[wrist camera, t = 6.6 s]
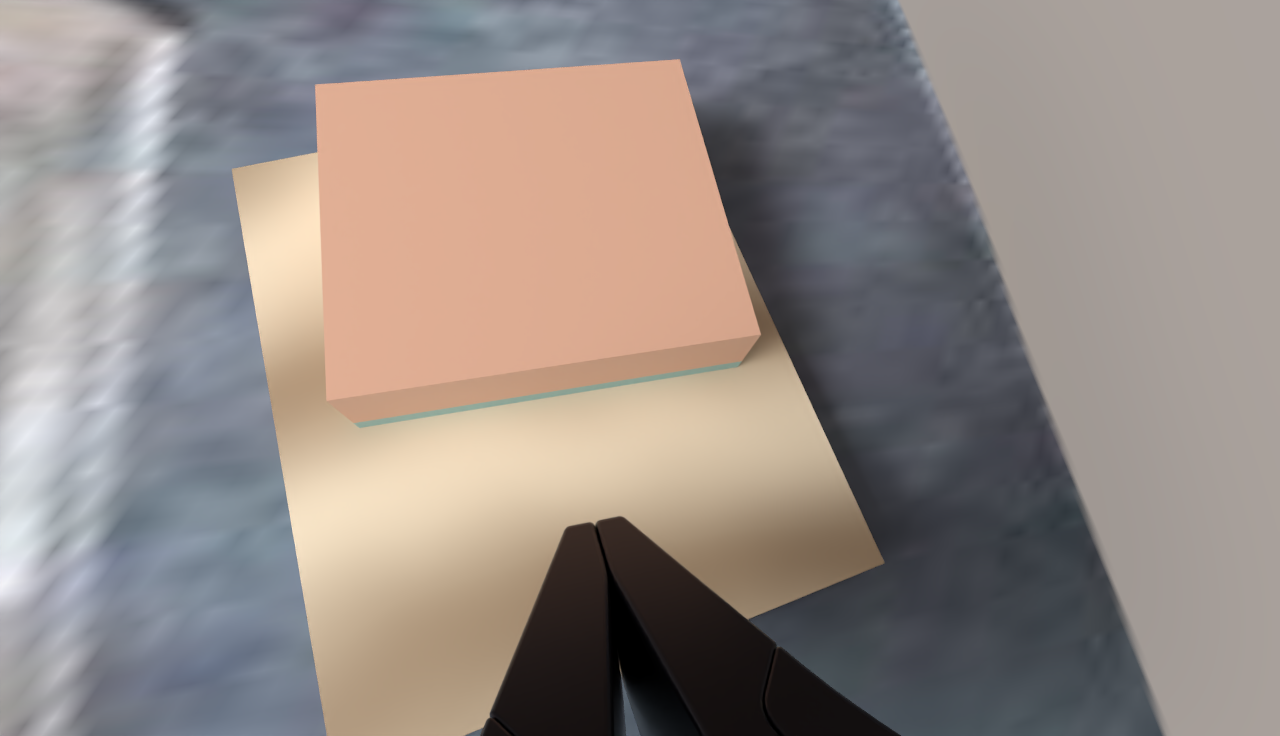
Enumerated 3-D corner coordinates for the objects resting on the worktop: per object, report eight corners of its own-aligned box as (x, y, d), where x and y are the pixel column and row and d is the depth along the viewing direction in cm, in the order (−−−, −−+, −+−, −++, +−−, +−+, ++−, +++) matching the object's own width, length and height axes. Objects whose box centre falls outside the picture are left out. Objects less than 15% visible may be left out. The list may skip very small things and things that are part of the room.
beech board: (861, 566, 15) (884, 563, 14) (356, 771, 12) (336, 787, 11) (658, 115, 19) (663, 85, 18) (254, 197, 17) (231, 168, 16)
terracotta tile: (760, 334, 13) (679, 59, 16) (326, 400, 12) (315, 84, 15) (737, 366, 15) (668, 115, 18) (359, 427, 14) (344, 143, 16)
